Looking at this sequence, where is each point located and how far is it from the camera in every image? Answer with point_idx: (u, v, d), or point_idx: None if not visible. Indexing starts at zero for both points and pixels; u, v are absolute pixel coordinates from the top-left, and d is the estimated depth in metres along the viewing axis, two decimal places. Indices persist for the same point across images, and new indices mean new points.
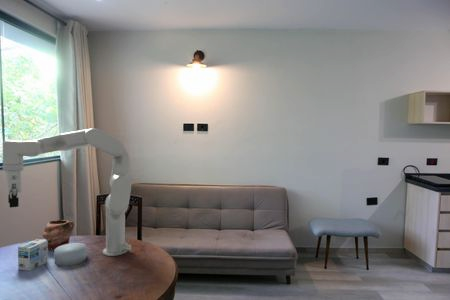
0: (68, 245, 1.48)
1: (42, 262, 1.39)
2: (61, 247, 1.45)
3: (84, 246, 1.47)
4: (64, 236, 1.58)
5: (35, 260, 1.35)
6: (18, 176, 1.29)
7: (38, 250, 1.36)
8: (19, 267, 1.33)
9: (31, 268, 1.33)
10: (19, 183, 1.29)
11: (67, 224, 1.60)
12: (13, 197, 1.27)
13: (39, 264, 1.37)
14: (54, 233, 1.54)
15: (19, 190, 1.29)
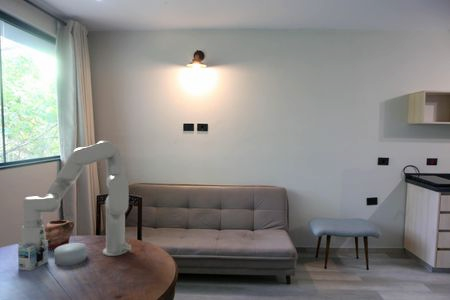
0: (68, 245, 1.48)
1: (42, 262, 1.38)
2: (61, 247, 1.45)
3: (84, 246, 1.47)
4: (64, 236, 1.58)
5: (36, 259, 1.35)
6: (44, 230, 1.37)
7: None
8: (19, 267, 1.33)
9: (31, 268, 1.33)
10: (45, 236, 1.38)
11: (67, 224, 1.60)
12: (42, 252, 1.36)
13: (39, 264, 1.37)
14: (54, 233, 1.54)
15: None
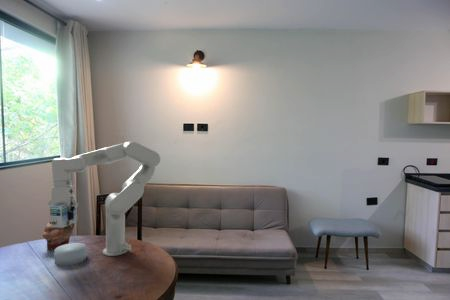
0: (68, 245, 1.48)
1: (73, 221, 1.44)
2: (61, 247, 1.45)
3: (84, 246, 1.47)
4: (64, 236, 1.58)
5: (67, 218, 1.40)
6: (73, 190, 1.42)
7: None
8: (52, 225, 1.38)
9: (63, 225, 1.38)
10: (74, 196, 1.43)
11: None
12: (72, 210, 1.41)
13: (70, 222, 1.42)
14: (54, 233, 1.54)
15: None
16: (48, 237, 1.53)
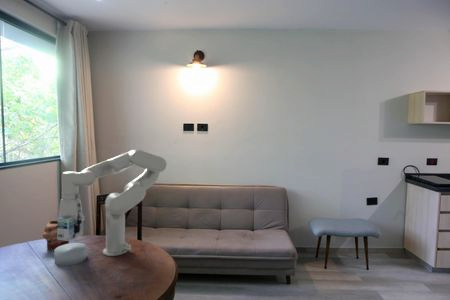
0: (68, 245, 1.48)
1: (79, 234, 1.45)
2: (61, 247, 1.45)
3: (84, 246, 1.47)
4: None
5: (73, 231, 1.42)
6: (80, 203, 1.44)
7: None
8: (58, 237, 1.40)
9: (70, 238, 1.40)
10: (81, 209, 1.45)
11: None
12: (79, 224, 1.43)
13: (76, 235, 1.44)
14: (54, 233, 1.54)
15: None
16: (48, 237, 1.53)
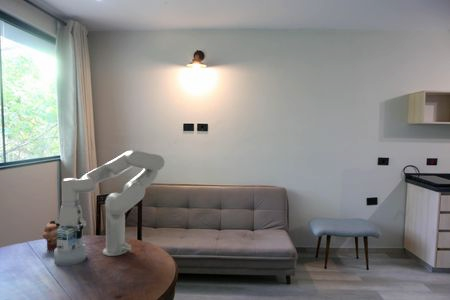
0: None
1: (78, 245, 1.46)
2: None
3: (84, 246, 1.47)
4: None
5: (73, 242, 1.42)
6: (81, 210, 1.44)
7: (75, 233, 1.44)
8: (58, 249, 1.40)
9: (69, 250, 1.40)
10: (81, 216, 1.45)
11: None
12: (81, 229, 1.43)
13: (76, 246, 1.44)
14: (54, 233, 1.54)
15: None
16: (48, 237, 1.53)
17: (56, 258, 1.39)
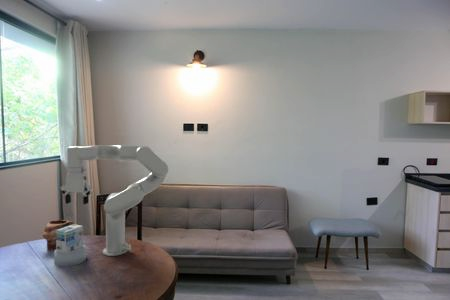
0: None
1: (78, 246, 1.44)
2: None
3: (84, 248, 1.45)
4: None
5: (71, 243, 1.41)
6: (86, 177, 1.49)
7: (74, 234, 1.42)
8: (57, 249, 1.40)
9: (67, 251, 1.39)
10: (87, 183, 1.50)
11: (67, 224, 1.60)
12: (88, 195, 1.48)
13: (75, 248, 1.43)
14: (54, 233, 1.54)
15: (87, 189, 1.50)
16: (48, 237, 1.53)
17: (55, 259, 1.38)
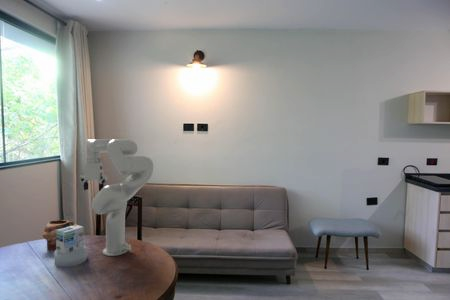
0: None
1: (77, 247, 1.43)
2: None
3: (84, 249, 1.44)
4: None
5: (70, 244, 1.40)
6: (102, 167, 1.68)
7: (74, 235, 1.41)
8: (57, 249, 1.40)
9: (65, 252, 1.38)
10: (103, 172, 1.68)
11: (67, 224, 1.60)
12: (103, 183, 1.66)
13: (74, 249, 1.42)
14: (54, 233, 1.54)
15: (103, 177, 1.68)
16: (48, 237, 1.53)
17: (55, 259, 1.38)
